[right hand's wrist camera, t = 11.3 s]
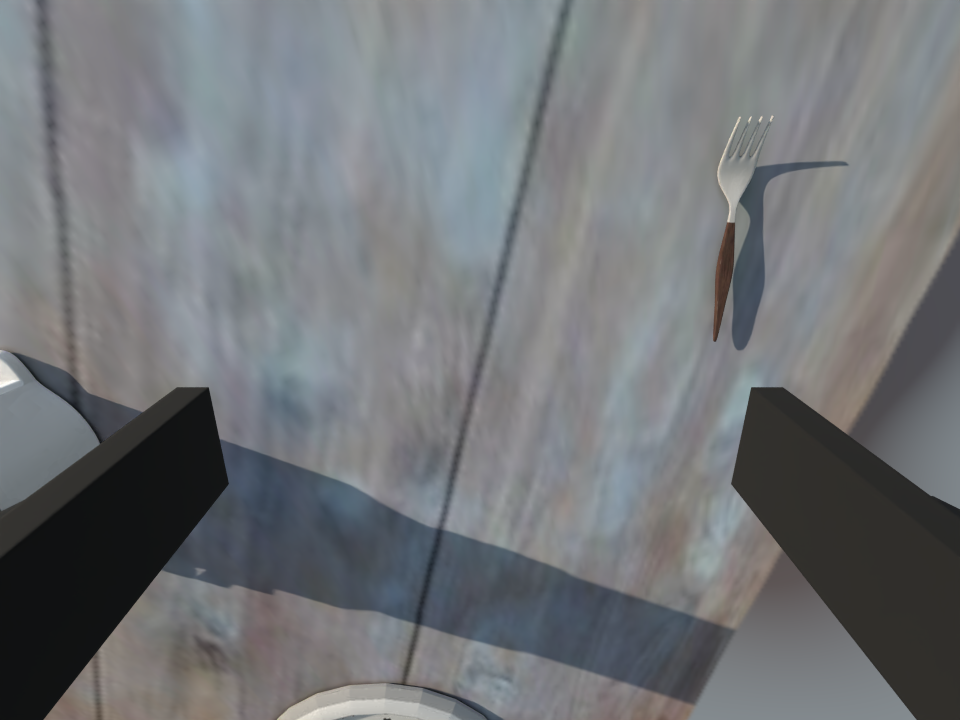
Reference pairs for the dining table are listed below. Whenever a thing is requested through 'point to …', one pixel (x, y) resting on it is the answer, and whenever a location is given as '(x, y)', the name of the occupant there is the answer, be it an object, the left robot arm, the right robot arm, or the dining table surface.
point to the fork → (733, 209)
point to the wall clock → (380, 705)
